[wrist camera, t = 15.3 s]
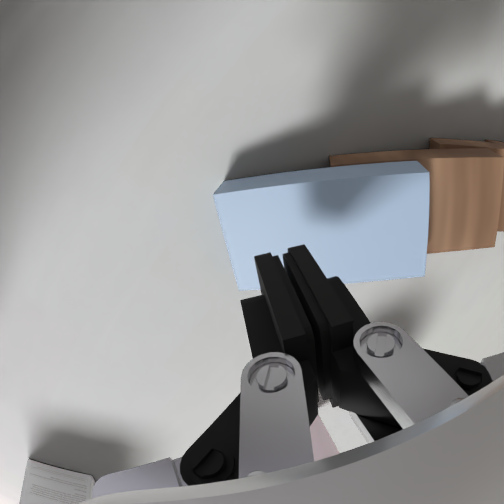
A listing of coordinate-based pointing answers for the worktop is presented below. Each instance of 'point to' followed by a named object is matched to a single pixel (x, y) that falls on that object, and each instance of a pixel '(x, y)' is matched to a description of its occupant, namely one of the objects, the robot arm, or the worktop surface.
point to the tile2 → (452, 193)
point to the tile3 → (455, 143)
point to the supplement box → (54, 485)
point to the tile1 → (330, 220)
